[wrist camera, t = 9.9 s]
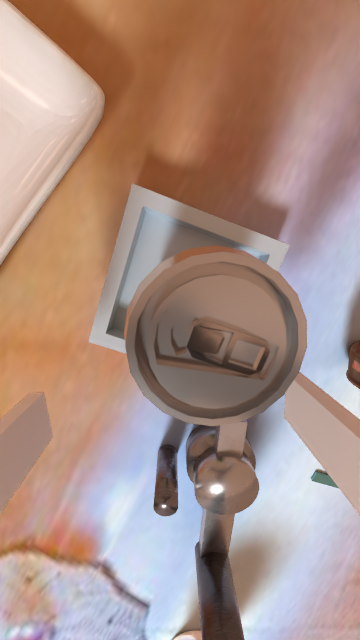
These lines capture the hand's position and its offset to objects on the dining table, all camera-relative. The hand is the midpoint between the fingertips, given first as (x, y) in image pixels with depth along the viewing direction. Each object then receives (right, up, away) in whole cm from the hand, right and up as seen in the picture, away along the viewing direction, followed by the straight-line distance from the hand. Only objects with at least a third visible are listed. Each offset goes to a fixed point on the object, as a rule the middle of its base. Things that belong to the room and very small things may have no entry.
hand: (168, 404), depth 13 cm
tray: (+1, +7, +6) cm, 9 cm away
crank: (+4, -11, +8) cm, 14 cm away
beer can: (+1, +7, +5) cm, 9 cm away
